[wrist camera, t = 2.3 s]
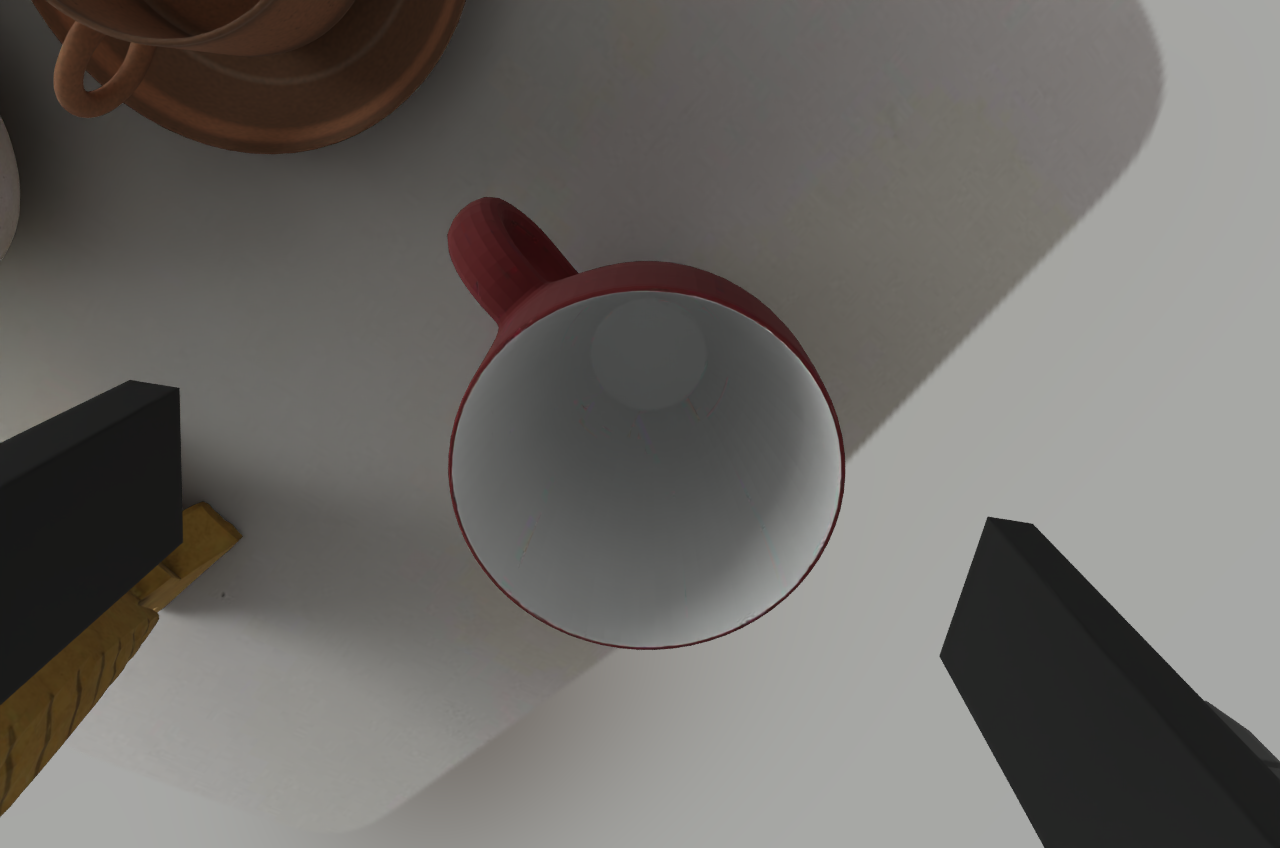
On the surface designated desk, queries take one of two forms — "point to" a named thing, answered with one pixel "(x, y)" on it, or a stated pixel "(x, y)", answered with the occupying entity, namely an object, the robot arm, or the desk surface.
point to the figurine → (99, 655)
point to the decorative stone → (8, 191)
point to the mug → (635, 442)
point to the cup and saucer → (249, 64)
